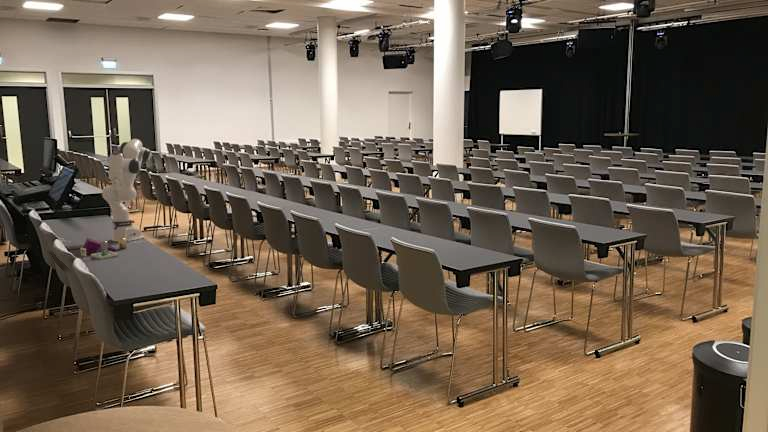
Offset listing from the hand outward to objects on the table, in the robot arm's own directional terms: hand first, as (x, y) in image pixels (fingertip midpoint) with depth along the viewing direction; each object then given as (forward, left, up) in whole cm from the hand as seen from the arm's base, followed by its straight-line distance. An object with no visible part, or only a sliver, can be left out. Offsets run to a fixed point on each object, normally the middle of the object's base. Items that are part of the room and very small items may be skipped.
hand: (115, 198), depth 419 cm
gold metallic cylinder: (-6, -5, -36) cm, 36 cm away
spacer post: (+14, +8, -35) cm, 39 cm away
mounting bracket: (+9, -7, -36) cm, 38 cm away
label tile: (+22, -4, -36) cm, 42 cm away
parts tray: (+14, +8, -35) cm, 39 cm away
